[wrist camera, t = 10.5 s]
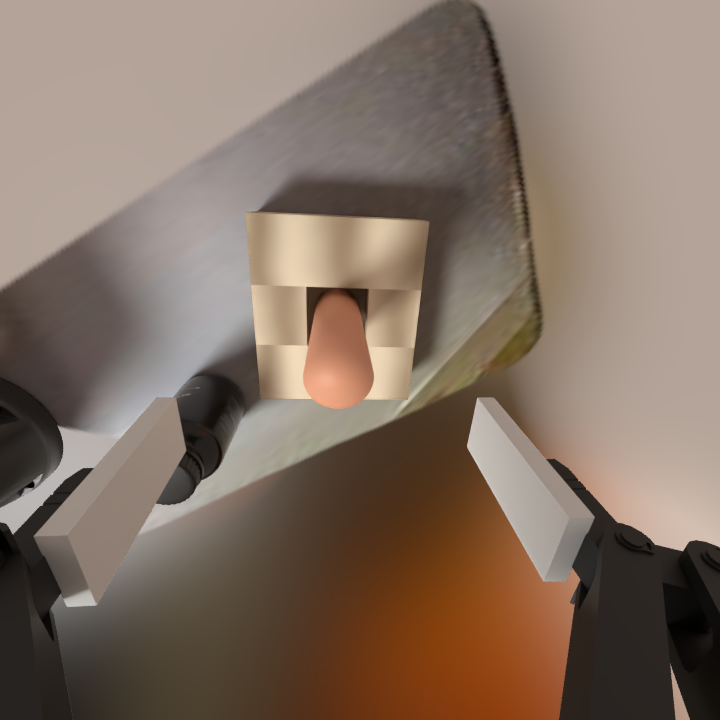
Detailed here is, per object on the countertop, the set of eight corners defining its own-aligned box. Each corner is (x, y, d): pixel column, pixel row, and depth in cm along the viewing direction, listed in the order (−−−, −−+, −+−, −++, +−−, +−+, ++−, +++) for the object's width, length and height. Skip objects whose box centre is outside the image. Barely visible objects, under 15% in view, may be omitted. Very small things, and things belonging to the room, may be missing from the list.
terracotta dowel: (315, 328, 33) (303, 408, 20) (315, 286, 31) (302, 344, 19) (357, 329, 33) (371, 408, 21) (359, 288, 32) (376, 346, 19)
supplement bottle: (190, 362, 35) (125, 433, 24) (255, 386, 37) (221, 463, 26) (172, 414, 38) (106, 500, 27) (234, 435, 39) (195, 524, 28)
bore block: (268, 376, 36) (260, 398, 32) (257, 211, 30) (245, 212, 26) (400, 378, 38) (408, 399, 33) (417, 219, 31) (429, 221, 27)
